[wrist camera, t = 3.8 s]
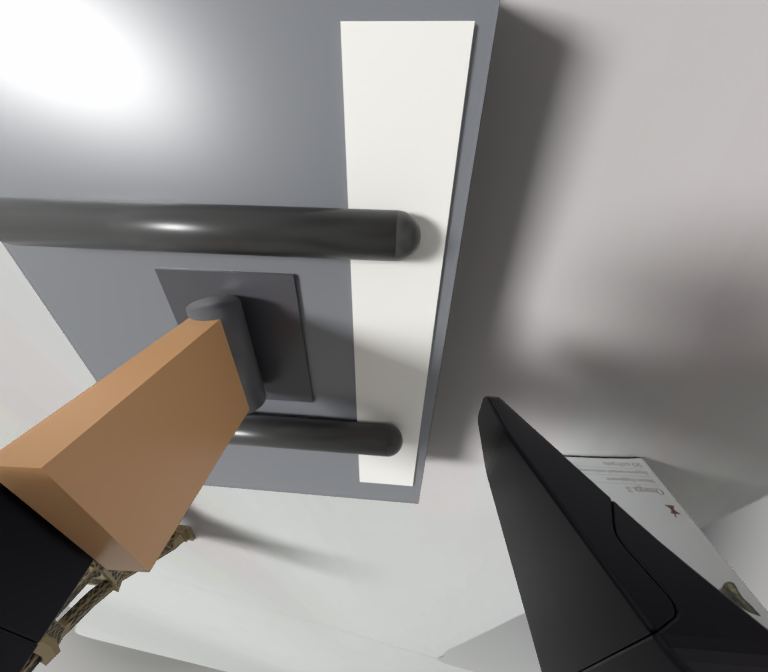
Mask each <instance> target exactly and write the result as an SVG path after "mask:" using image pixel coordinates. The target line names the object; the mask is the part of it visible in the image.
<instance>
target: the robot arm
mask: <svg viewBox="0 0 768 672" xmlns="http://www.w3.org/2000/svg"><path fill="white" fill-rule="evenodd" d="M478 425H479V431H480V437H481V444H482V450H483V456H484V462H485V468H486V473H487V477H488V481H489V484H490V488H491V491H492V495H493V499H494V502H495V506H496V509H497V513H498V516H499V520H500V524H501V527H502V531H503V534H504V538H505V542H506V545H507V549H508V552H509V556H510V560H511V563H512V567H513V570H514V574H515V578H516V581H517V585H518V588H519V592H520V595H521V599H522V603H523V606H524V610H525V613H526V617H527V621H528V624H529V628H530V631H531V635H532V638H533V642H534V645H535V649H536V653H537V657H538V660H539V664H540V667H541V671H542V672H768V629H767V628H765V627H764V626H763V625H762V624H761V623H759V622H758V621H757V620H756V619H754V618H753V617H752V616H751V615H749V614H748V613H747V612H746V611H744V610H743V609H742V608H741V607H740V606H738V605H737V604H736V603H735V602H733V601H732V600H731V599H730V598H728V597H727V596H726V595H725V594H723V593H722V592H721V591H720V590H719V589H717V588H716V587H715V586H714V585H712V584H711V583H710V582H709V581H707V580H706V579H705V578H704V577H702V576H701V575H700V574H699V573H697V572H696V571H695V570H694V569H693V568H691V567H690V566H689V565H688V564H687V563H685V562H684V561H683V560H682V559H680V558H679V557H678V556H677V555H676V554H674V553H673V552H672V551H671V550H670V549H668V548H667V547H666V546H665V545H664V544H662V543H661V542H660V541H659V540H658V539H656V538H655V537H654V536H653V535H652V534H651V533H650V532H649V531H647V530H646V529H645V528H644V527H643V526H642V525H641V524H639V523H638V522H637V521H636V520H635V519H634V518H633V517H631V516H630V515H629V514H628V513H627V512H626V511H625V510H624V509H622V508H621V507H620V506H619V505H618V504H617V503H616V502H615V501H611V498H610V497H609V496H608V495H607V494H606V493H605V492H603V491H602V490H601V489H600V488H599V487H598V486H597V485H596V484H595V483H594V482H592V481H591V480H590V479H589V478H588V477H587V476H586V475H585V474H584V473H582V472H581V471H580V470H579V469H578V468H577V467H576V466H575V465H574V464H572V463H571V462H570V461H569V460H568V459H567V458H566V457H565V456H564V455H562V454H561V453H560V452H559V451H558V450H557V449H556V448H555V447H554V446H552V445H551V444H550V443H549V442H548V441H547V440H546V439H545V438H544V437H543V436H541V435H540V434H539V433H538V432H537V431H536V430H535V429H534V428H533V427H531V426H530V425H529V424H528V423H527V422H526V421H525V420H524V419H523V418H521V417H520V416H519V415H518V414H517V413H516V412H515V411H514V410H513V409H511V408H510V407H509V406H508V405H507V404H506V403H505V402H504V401H503V400H502V399H500V398H499V397H489V396H486V397H484V399H483V401H482V405H481V408H480V411H479V415H478ZM94 560H95V559H93V558H92V557H91V556H90V555H88V554H87V553H86V552H85V551H84V550H82V549H81V548H80V547H79V546H77V545H76V544H75V543H74V542H73V541H71V540H70V539H69V538H68V537H66V536H65V535H64V534H63V533H62V532H60V531H59V530H58V529H57V528H55V527H54V526H53V525H52V524H51V523H49V522H48V521H47V520H46V519H44V518H43V517H42V516H41V515H40V514H38V513H37V512H36V511H35V510H33V509H32V508H31V507H30V506H29V505H27V504H26V503H25V502H24V501H22V500H21V499H20V498H19V497H18V496H16V495H15V494H14V493H13V492H11V491H10V490H9V489H8V488H7V487H5V486H4V485H3V484H2V483H0V672H21V670H22V669H23V667H24V666H25V664H26V663H27V661H28V660H29V658H30V657H31V655H32V654H33V652H34V651H35V649H36V648H37V646H38V644H39V643H38V642H40V641H41V640H42V638H43V637H44V635H45V634H46V632H47V631H48V629H49V628H50V626H51V625H52V623H53V622H54V620H55V619H56V617H57V616H58V614H59V613H60V611H61V610H62V608H63V607H64V605H65V604H66V602H67V600H68V599H69V597H70V596H71V594H72V593H73V591H74V590H75V588H76V587H77V585H78V584H79V582H80V581H81V579H82V578H83V576H84V575H85V573H86V572H87V570H88V569H89V567H90V566H91V564H92V563H93V561H94Z"/></svg>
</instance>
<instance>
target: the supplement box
mask: <svg viewBox="0 0 768 672" xmlns="http://www.w3.org/2000/svg"><path fill="white" fill-rule="evenodd" d="M566 458H567V459H568V460H569V461H570V462H571V463H572V464H574V465H575V466H576V467H577V468H578V469H579V470H580V471H581V472H582V473H584V474H585V475H586V476H587V477H588V478H589V479H590V480H591V481H592V482H594V483H595V484H596V485H597V486H598V487H599V488H600V489H601V490H602V491H603V492H605V493H606V494H607V495H608V496H609V497H610V498H611V501H615V502H616V503H617V504H618V505H619V506H620V507H621V508H622V509H624V510H625V511H626V512H627V513H628V514H629V515H630V516H631V517H633V518H634V519H635V520H636V521H637V522H638V523H639V524H641V525H642V526H643V527H644V528H645V529H646V530H647V531H649V532H650V533H651V534H652V535H653V536H654V537H655V538H656V539H658V540H659V541H660V542H661V543H662V544H664V545H665V546H666V547H667V548H668V549H670V550H671V551H672V552H673V553H674V554H676V555H677V556H678V557H679V558H680V559H682V560H683V561H684V562H685V563H687V564H688V565H689V566H690V567H691V568H693V569H694V570H695V571H696V572H697V573H699V574H700V575H701V576H702V577H704V578H705V579H706V580H707V581H709V582H710V583H711V584H712V585H714V586H715V587H716V588H717V589H719V590H720V591H721V592H722V593H723V594H725V595H726V596H727V597H728V598H730V599H731V600H732V601H733V602H735V603H736V604H737V605H738V606H740V607H741V608H742V609H743V610H744V611H746V612H747V613H748V614H749V615H751V616H752V617H753V618H754V619H756V620H757V621H758V622H759V623H761V624H762V625H763V626H764V627H765V628H767V629H768V611H767V610H766V609H765V608H764V607H763V606H762V605H761V603H760V602H759V601H758V599H757V598H756V597H755V596H754V595H753V594H752V592H751V591H750V590H749V588H748V587H747V586H746V585H745V583H744V582H743V581H742V580H741V579H740V577H739V576H738V575H737V574H736V572H735V571H734V570H733V569H732V568H731V566H730V565H729V564H728V563H727V561H726V560H725V559H724V558H723V556H722V555H721V554H720V553H719V552H718V550H717V549H716V548H715V547H714V545H713V544H712V543H711V542H710V541H709V540H708V538H707V537H706V536H705V534H704V533H703V532H702V531H701V530H700V528H699V527H698V526H697V525H696V523H695V522H694V521H693V520H692V518H691V517H690V516H689V515H688V514H687V512H686V511H685V510H684V509H683V507H682V506H681V505H680V504H679V502H678V501H677V500H676V499H675V497H674V496H673V495H672V494H671V492H670V491H669V490H668V489H667V488H666V487H665V485H664V484H663V483H662V482H661V480H660V479H659V478H658V477H657V476H656V474H655V473H654V472H653V471H652V469H651V468H650V467H649V466H648V464H647V463H646V462H645V461H644V460H643V459H641V458H635V459H614V458H584V457H566Z"/></svg>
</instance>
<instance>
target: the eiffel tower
mask: <svg viewBox="0 0 768 672" xmlns="http://www.w3.org/2000/svg"><path fill="white" fill-rule="evenodd" d="M194 539H195V537H194V535H193V533H192V531H191V528H190V527H188V526H182V525H178V526H177V528H176V530H175V531H174V533H173V535H172V536H171V538H170V539H169V541H168V543H167V544H166V546H165V548H164V549H163V551H162V552H161V554H160V556H159V557H158V559H160V558H161V557H163V556H165V555H166V554H168V553H169V552H171V551H173V550H174V549H176V548H177V547H178V546H179V545H180V544H181V543H183V542H187V541H188V540H191V541H194ZM158 559H157V560H158ZM136 572H137V571H119V570H107V569H106V568H104V567H103V566H102V565H101V564H99V563H98V562H97V561H96V560H94V561H93V563H92V564H91V566H90V567H89V569H88V570H87V572H86V573H85V575H84V576H83V578H82V579H81V581H80V582H79V584H78V585H77V587H76V588H75V590H74V591H73V593H72V594H71V596H70V597H69V599H68V600H67V602H66V604H65V605H64V607H63V608H62V610H61V611H60V613H61V612H62V611H63V610H64V609H65V608H66V607H67V606H68V605H69V603H70V602H71V601H72V600H73V599H74V598H75V597H76V596H77V595H78V594H79V592H80V591H81V590H82V589H83V588H84V587H85V586H86V585H87V584H89V585H96V586H95V587H94V588H93V589H91V590H90V591H89V592H88V593H86V594H85V595H84V596H83V597H82V598H81V599H80V600H79V601H78V602H77V603H76V604H75V605H74V606H73V607H72V608H71V609H70V610H69V611H68V612H67V613H66V614H65V615H64V616H63V617H62V618H61V619H60V620H59V621H58V622H57V621H56V620H54V622H53V623H52V625H51V626H50V628H49V629H48V631H47V632H46V634H45V635H44V637H43V638H42V640H41V641H40V642H38V643H39V644H38V646H37V648H36V649H35V651H34V652H33V654H32V655H31V657H30V658H29V660H28V661H27V663H26V664H25V666H24V667H23V669H22V670H21V672H32V671H33V669H34V668H35V667H36V666H37V665H38V664H39V662H41V663H43V664H44V665H47V664H48V663H49V662H50V661H51V660H52V659H53V658H54V657H55V656H56V655H57V654H58V653H59V652H60V649H59V646H58V645H59V644H60V642H61V640H62V638H63V637H64V636H65V635H66V634H67V633H68V632H69V631H70V630H71V629H72V628H73V627H74V626H75V625H76V624H77V623H78V622H79V621H80V620H81V619H82V618H83V617H84V616H85V615H86V614H87V613H88V612H89V611H90V610H91V609H92V608H93V607H94V606H95V605H96V604H97V603H99V602H100V601H101V600H102V599H103V598H105V597H106V596H107V595H108V594H109V593H111V592H112V591H113V590H115V591H117V592H118V591H119V588H120V586H121V583H122V581H123V580H124V579H126V578H128V577H130V576H131V575H133V574H135V573H136ZM60 613H59V614H60ZM59 614H58V616H59ZM58 616H57V617H58ZM57 617H56V618H57Z"/></svg>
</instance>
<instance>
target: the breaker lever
mask: <svg viewBox="0 0 768 672" xmlns="http://www.w3.org/2000/svg"><path fill="white" fill-rule="evenodd" d="M186 312H187V315H188V317H189V318H188V319H187V320H185V321H184V322H182V323H181V324H180V325H178V326H177V327H175V328H174V329H172V330H171V331H170V332H168V333H167V334H165V335H164V336H163V337H161V338H160V339H158V340H157V341H155V342H154V343H153V344H151V345H150V346H148V347H147V348H145V349H144V350H143V351H141V352H140V353H138V354H137V355H135V356H134V357H133V358H131V359H130V360H128V361H127V362H125V363H124V364H123V365H121V366H120V367H118V368H117V369H115V370H114V371H113V372H111V373H110V374H108V375H107V376H106V377H104V378H103V379H101V380H100V381H98V382H97V383H96V384H94V385H93V386H91V387H90V388H88V389H87V390H86V391H84V392H83V393H81V394H80V395H78V396H77V397H76V398H74V399H73V400H71V401H70V402H68V403H67V404H66V405H64V406H63V407H61V408H60V409H58V410H57V411H56V412H54V413H53V414H51V415H50V416H49V417H47V418H46V419H44V420H43V421H41V422H40V423H39V424H37V425H36V426H34V427H33V428H31V429H30V430H29V431H27V432H26V433H24V434H23V435H21V436H20V437H19V438H17V439H16V440H14V441H13V442H11V443H10V444H9V445H7V446H6V447H4V448H3V449H2V450H0V483H2V484H3V485H4V486H5V487H7V488H8V489H9V490H10V491H11V492H13V493H14V494H15V495H16V496H18V497H19V498H20V499H21V500H22V501H24V502H25V503H26V504H27V505H29V506H30V507H31V508H32V509H33V510H35V511H36V512H37V513H38V514H40V515H41V516H42V517H43V518H44V519H46V520H47V521H48V522H49V523H51V524H52V525H53V526H54V527H55V528H57V529H58V530H59V531H60V532H62V533H63V534H64V535H65V536H66V537H68V538H69V539H70V540H71V541H73V542H74V543H75V544H76V545H77V546H79V547H80V548H81V549H82V550H84V551H85V552H86V553H87V554H88V555H90V556H91V557H92V558H93V559H95V560H96V561H97V562H98V563H99V564H101V565H102V566H103V567H104V568H106V569H107V570H119V571H137V572H150V570H151V569H152V567H153V565H154V564H155V562H156V561H157V559H158V557H159V556H160V554H161V552H162V551H163V549H164V548H165V546H166V544H167V543H168V541H169V539H170V538H171V536H172V535H173V533H174V531H175V530H176V528H177V526H178V525H179V523H180V522H181V520H182V518H183V517H184V515H185V513H186V512H187V510H188V509H189V507H190V505H191V504H192V502H193V501H194V499H195V497H196V496H197V494H198V492H199V491H200V489H201V488H202V486H203V484H204V483H205V481H206V479H207V478H208V476H209V475H210V473H211V471H212V470H213V468H214V466H215V465H216V463H217V462H218V460H219V458H220V457H221V455H222V453H223V452H224V450H225V449H226V447H227V445H228V444H229V442H230V441H231V439H232V437H233V436H234V434H235V432H236V431H237V429H238V428H239V426H240V424H241V423H242V421H243V419H244V418H245V416H246V415H247V414H250V413H252V412H254V411H256V410H257V409H259V408H260V407H261V406H262V405H263V404H264V402H265V401H266V393H265V389H264V385H263V381H262V378H261V374H260V370H259V367H258V363H257V359H256V356H255V352H254V348H253V345H252V341H251V337H250V334H249V330H248V326H247V322H246V319H245V315H244V311H243V308H242V304H241V300H240V299H239V298H238V297H236V296H231V295H218V296H211V297H206V298H202V299H199V300H197V301H194V302H192V303H191V304H189V305H188V306H187V307H186Z"/></svg>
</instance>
